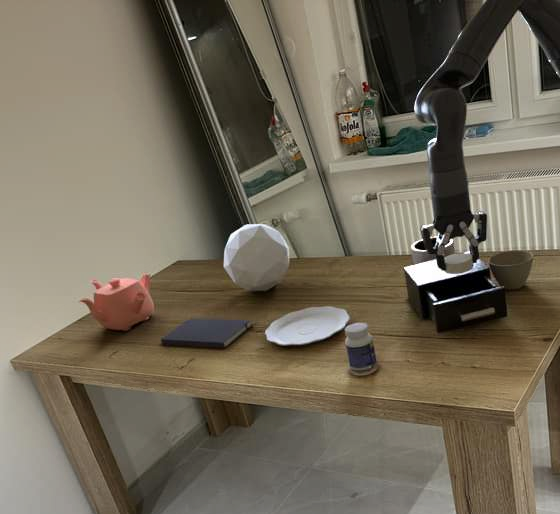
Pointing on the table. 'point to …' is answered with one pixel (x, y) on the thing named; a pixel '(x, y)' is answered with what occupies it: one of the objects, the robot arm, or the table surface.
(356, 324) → the pill bottle
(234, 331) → the notebook
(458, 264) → the grey round puck
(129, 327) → the teapot
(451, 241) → the planter
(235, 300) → the table surface
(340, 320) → the plate
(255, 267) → the ball
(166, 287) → the table surface
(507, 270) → the flower pot
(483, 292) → the drawer
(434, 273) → the cabinet
